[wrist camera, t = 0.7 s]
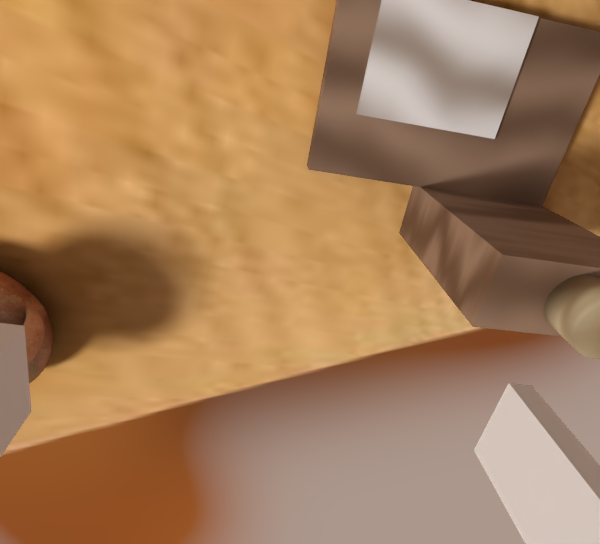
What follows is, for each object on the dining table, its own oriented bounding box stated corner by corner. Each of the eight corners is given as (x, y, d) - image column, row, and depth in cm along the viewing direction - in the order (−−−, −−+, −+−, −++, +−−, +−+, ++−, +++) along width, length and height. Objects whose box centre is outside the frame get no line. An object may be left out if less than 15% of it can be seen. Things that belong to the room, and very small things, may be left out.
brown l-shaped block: (341, -24, 31) (434, -120, 14) (602, 36, 35) (930, 15, 18) (296, 221, 40) (323, 344, 23) (511, 251, 43) (673, 377, 26)
